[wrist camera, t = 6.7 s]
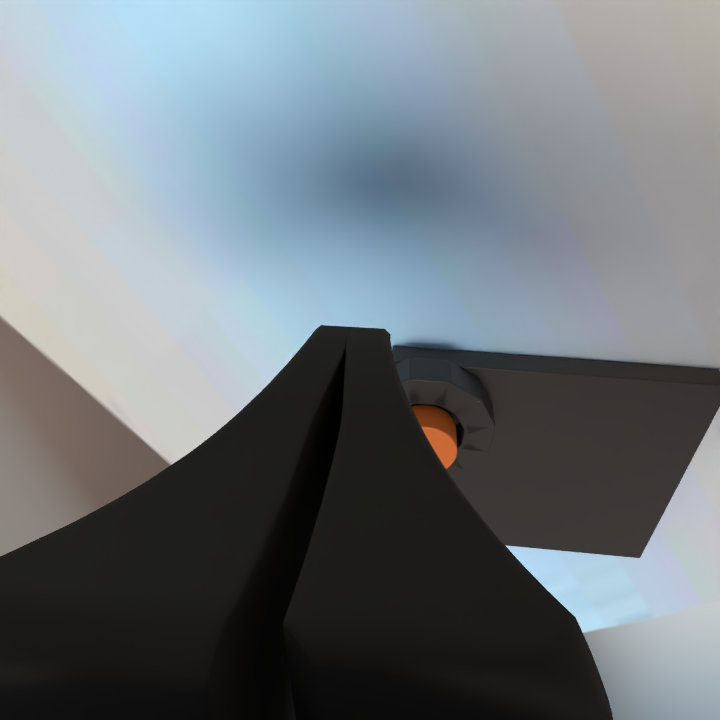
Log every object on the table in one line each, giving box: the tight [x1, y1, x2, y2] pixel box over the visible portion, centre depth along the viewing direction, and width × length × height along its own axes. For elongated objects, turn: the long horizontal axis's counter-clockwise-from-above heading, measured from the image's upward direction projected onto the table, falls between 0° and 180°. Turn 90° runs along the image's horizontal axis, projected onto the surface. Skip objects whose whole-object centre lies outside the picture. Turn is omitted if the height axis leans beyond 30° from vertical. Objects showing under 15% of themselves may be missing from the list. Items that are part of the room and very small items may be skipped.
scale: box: [392, 346, 720, 558], centre depth 25 cm, size 14×11×2 cm
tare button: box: [411, 405, 457, 469], centre depth 22 cm, size 3×3×1 cm
